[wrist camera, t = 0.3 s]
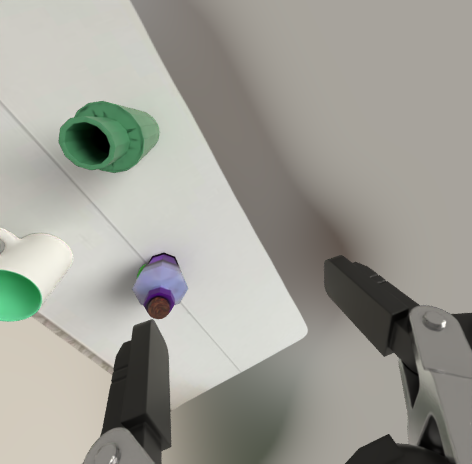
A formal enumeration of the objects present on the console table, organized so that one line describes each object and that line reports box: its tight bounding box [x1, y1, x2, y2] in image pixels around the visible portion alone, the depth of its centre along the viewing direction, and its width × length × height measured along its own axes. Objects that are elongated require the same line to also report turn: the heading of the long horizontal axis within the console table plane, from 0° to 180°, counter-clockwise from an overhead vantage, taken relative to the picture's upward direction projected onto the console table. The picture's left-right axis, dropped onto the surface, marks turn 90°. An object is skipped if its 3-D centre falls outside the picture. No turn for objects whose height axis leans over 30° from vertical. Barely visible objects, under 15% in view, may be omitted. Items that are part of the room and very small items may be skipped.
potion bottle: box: [132, 253, 188, 319], centre depth 39 cm, size 9×9×12 cm
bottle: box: [59, 101, 159, 173], centre depth 25 cm, size 5×5×23 cm
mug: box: [0, 228, 73, 321], centre depth 34 cm, size 12×8×10 cm, turn 30°
